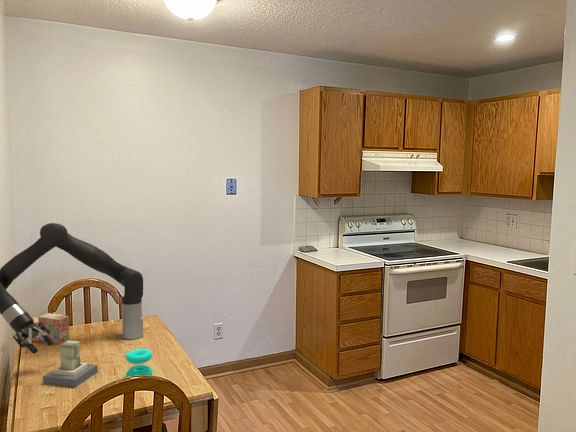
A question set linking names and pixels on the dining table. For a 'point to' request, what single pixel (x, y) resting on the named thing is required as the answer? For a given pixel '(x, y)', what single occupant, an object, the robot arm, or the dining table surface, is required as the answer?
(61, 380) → the plinth
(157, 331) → the dining table surface
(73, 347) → the pillar
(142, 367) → the donuts
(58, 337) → the stack of blocks
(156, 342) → the dining table surface
